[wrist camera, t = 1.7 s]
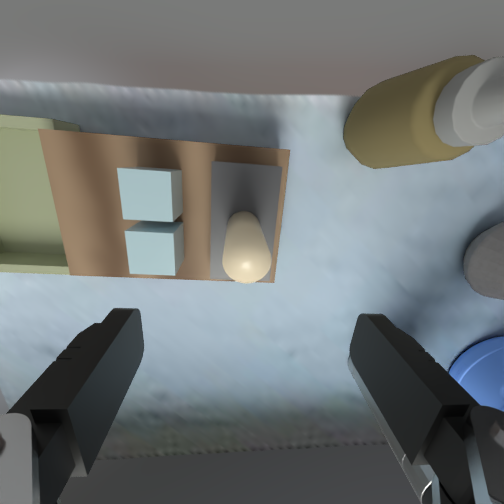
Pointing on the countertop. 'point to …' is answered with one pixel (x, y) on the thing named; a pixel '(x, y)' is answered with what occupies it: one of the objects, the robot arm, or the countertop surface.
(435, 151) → the squeeze bottle
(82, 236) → the flat wooden board
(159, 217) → the pale blue cube
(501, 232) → the coffee pot
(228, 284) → the countertop surface
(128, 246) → the light blue block
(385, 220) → the countertop surface
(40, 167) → the bin
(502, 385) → the water jug
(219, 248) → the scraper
